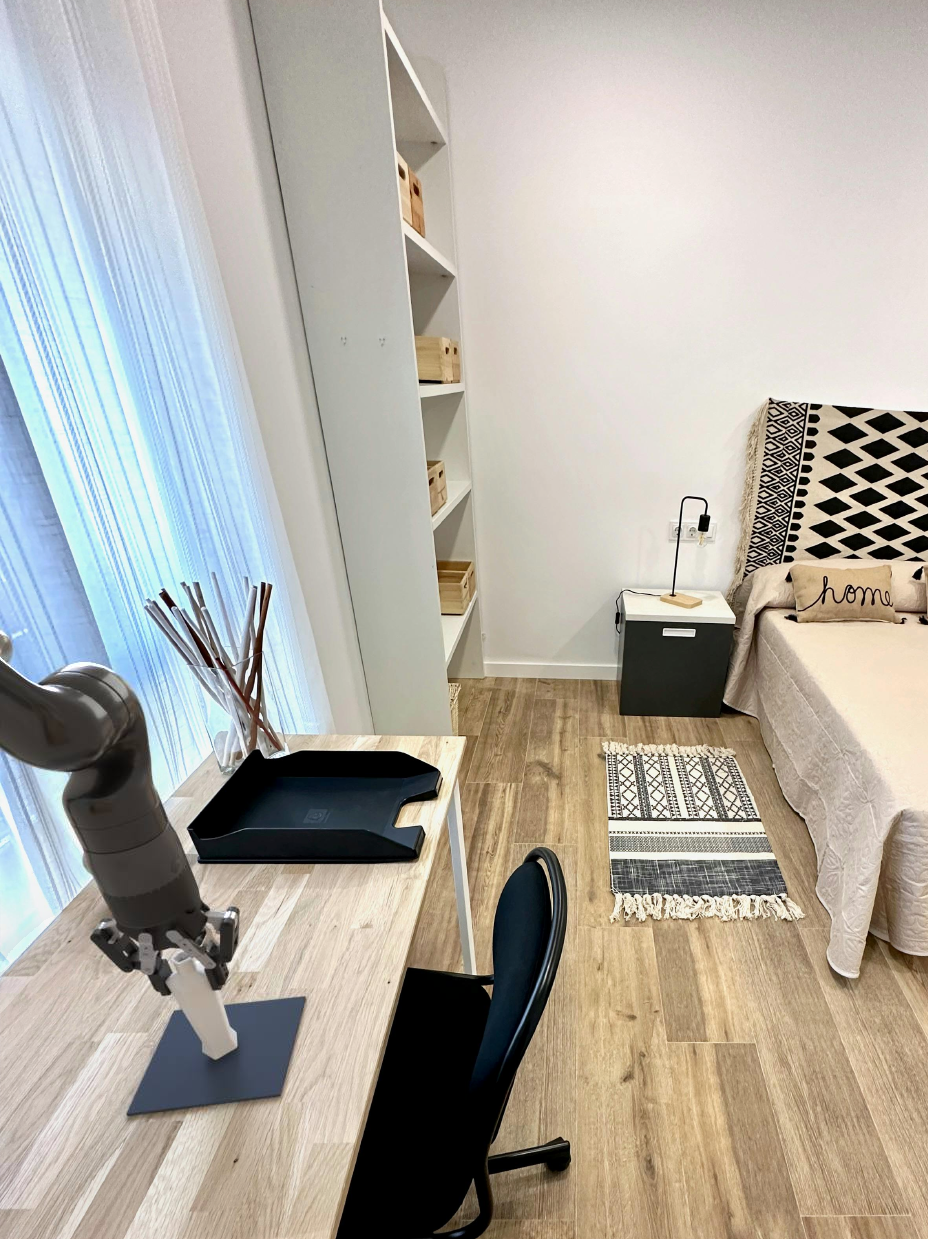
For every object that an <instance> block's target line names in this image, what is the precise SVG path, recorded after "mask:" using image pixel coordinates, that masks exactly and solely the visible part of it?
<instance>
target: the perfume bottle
mask: <svg viewBox="0 0 928 1239" xmlns="http://www.w3.org/2000/svg"><path fill="white" fill-rule="evenodd" d="M170 962H171V963H172V964H173V966H174V968H175V970H173V971H172V972H173V973H172V974H171V975H170V976H169V977H168V978H167V980H166V981H165V983H166V985H167V986H168V988H169V989H170V991H171V995H172V996H173V997H174V999H175V1001H176V1002H177V1004H178V1006H179V1007H180V1010H183V1012H184V1014H185V1015H186V1017H187V1018H188V1020H189V1022H190V1023H191V1025H192V1027H193V1028H194V1030H195V1031H196V1033H197V1035H198V1036H199V1038H200V1039H201V1041H202V1052H203V1053H205V1054H206V1055H208V1056H210V1057H211V1058H213V1059H215V1060H216V1059H218V1058H220V1057H222V1056H223V1055H225V1054H227V1053H229V1052H230V1051H232V1050H234V1049H235V1048H237V1033H236V1032H235V1031H234V1030H233V1029H232V1028H231V1027H230V1025H229V1022H228V1018H227V1015H226V1012H225V1008H224V1005H225V1004H224V1002H223V998H222V995H221V992H220V990H216V991H213V990H212V988H211V985H210V983H209V981H208V978H207V976H206V973H205V971H204V968H205V967H204V966H203V965H202V964H201V963H200V962H199V961H198V960H196V958H195V957H194V958H190V957H189V956H188V955H187V954H186V953H185V952H184V951H183V950H182V949H181V950H179V951H177V952H175V954H174V955H173V956H172V957H171V958H170Z"/></svg>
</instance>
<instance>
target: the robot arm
mask: <svg viewBox="0 0 928 1239" xmlns="http://www.w3.org/2000/svg"><path fill="white" fill-rule="evenodd" d="M13 654H14V645H13V642H12V640H11V639H10V637H9V636H8V635H7V634H6V633H5V632H4V631H3V630H2V629H0V750H1V751H2V752H4V753H6V754H7V755H8V756H10V757H12V758H13V759H15V760H17V761H19V762H21V763H23V764H25V765H27V766H30V767H32V768H35V769H39V770H43V771H48V772H54V773H70V776H69V778H68V779H67V782H66V784H65V786H64V788H63V790H62V794H61V803H62V808H63V811H64V814H65V815H66V818H67V820H68V822H69V824H70V826H71V828H72V830H73V832H74V834H75V837H76V839H77V840H78V842H79V844H80V846H81V848H82V851H83V853H84V854H85V859H86V862H87V865H88V867H89V870H90V872H91V874H92V875H91V874H90V875H91V876H92V877H93V880H94V882H95V884H96V886H97V888H98V890H99V892H100V894H101V896H102V898H103V900H104V902H105V904H106V906H107V908H108V911H109V913H110V914H111V916H112V918H113V919H112V918H111V917H102V918H101V920H100V921H99V922H98V924H97V925H96V926H95V927H94V929H93V931H92V933H91V934H90V936H89V939H90V941H91V942H92V943H93V944H94V945H95V946H96V947H97V948H98V949H99V951H101V952H102V953H103V954H104V955H105V956H106V957H107V958H108V959H109V960H110V961H111V963H113V964H114V965H115V966H116V968H118V969H119V970H120V971H121V972H123V973H126V974H129V973H133V972H134V970H135V971H140V972H141V973H142V975H145V976H147V978H148V980H149V982H150V984H151V986H152V987H153V990H154V991H155V992H157V993H160V995H161V997H168V996H171V995H172V993H171V991H170V989H169V988H168V986H167V985H166V983H165V981H166V980H167V978H168V977H169V976H170V975H171V974H172V973H173V972H174V971H173V970H172V968H171V965H170V964H169V961H168V959H167V958H163V954H164V953H163V951H166V950H169V949H178V950H180V949H181V951H182V950H183V951H184V952H185V953H186V954H187V955H188V956H189V957H190V958H194V959H195V960H196V961H199V962H200V963H201V964H202V965H203V966H204V967H205V968H204V971H205V973H206V976H207V978H208V981H209V983H210V985H211V988H212V990H213V991H216V990H219V991H222V989H223V986H225V985H226V983H227V980H228V978H229V975H230V970H229V967H228V965H227V964H228V963H231V962H232V960H233V958H234V955H235V953H236V951H237V948H238V946H239V940H240V939H239V937H240V914H241V911H240V908H239V907H237V906H234V905H233V906H228V908H227V909H226V911H221V910H211V908H210V906H209V905H208V904H206V903H205V902H204V901H203V900H202V898H201V894H200V889H199V886H198V883H197V879H196V877H195V875H194V873H193V870H192V867H191V865H190V863H189V860H188V857H187V855H186V852H185V849H184V846H183V845H182V842H181V840H180V837H179V835H178V833H177V831H176V829H175V828H174V827H173V825H172V823H171V821H170V820H169V817H168V814H167V812H166V810H165V806H164V805H163V804H164V803H163V801H162V799H161V797H160V795H159V792H158V790H157V788H156V785H155V784H154V779H153V770H152V755H151V748H150V747H151V746H150V740H149V733H148V732H149V731H148V725H147V720H146V716H145V712H144V709H143V706H142V703H141V701H140V699H139V698H138V696H137V694H136V692H135V690H134V689H133V687H132V686H131V685H130V684H129V683H128V681H127V680H126V679H124V677H122V675H120V674H119V673H118V672H115V671H114V670H112V669H110V668H108V667H106V666H104V665H101V664H98V663H93V662H88V661H87V662H85V661H84V662H83V661H82V662H74V663H70V664H67V665H64V666H62V667H60V668H58V669H56V670H54V671H53V672H52V673H50V674H49V675H48V676H46V677H45V678H43V679H41V681H38V682H37V683H35V682H33V681H31V680H29V679H28V678H26V677H25V676H23V674H21V673H20V672H19V671H17V670H16V669H14V668H13V667H12V666H11V665H10V663H11V661H12V658H13ZM207 924H211V926H213V929H214V930H215V934H216V935H219V942H218V941H217V940H216V939H215V938H214V936H213V931H212V930H211V929H210V927H209V926H208V925H207ZM136 942H138V944H136Z"/></svg>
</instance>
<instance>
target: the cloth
mask: <svg viewBox="0 0 928 1239" xmlns="http://www.w3.org/2000/svg"><path fill="white" fill-rule="evenodd" d="M306 999H307V998H306V996H305V995H303V996H301V995H300V996H294V997H285V998H276V999H266V1000H258V1001H257V1000H256V1001H248V1002H237V1003H228V1004H223V1005H224V1008H225V1012H226V1015H227V1018H228V1022H229V1025H230V1027H231V1028H232V1029H233V1030H234V1031H235V1032H236V1033H237V1048H235V1049H234V1050H232V1051H230V1052H229V1053H227V1054H225V1055H223V1056H222V1057H220V1058H218V1059H216V1060H215V1059H213V1058H211V1057H210V1056H208V1055H206V1054H205V1053H203V1052H202V1041H201V1039H200V1038H199V1036H198V1035H197V1033H196V1031H195V1030H194V1028H193V1027H192V1025H191V1023H190V1022H189V1020H188V1018H187V1017H186V1015H185V1014H184V1012H183V1010H182V1009H175V1010H173V1011H172V1014H171V1016H170V1018H169V1020H168V1021H167V1024H166V1026H165V1028H164V1031H163V1033H162V1035H161V1037H160V1040H159V1041H158V1044H157V1046H156V1049H155V1050H154V1053H153V1055H152V1057H151V1060H150V1061H149V1064H148V1065H147V1068H146V1070H145V1072H144V1074H143V1076H142V1078H141V1081H140V1083H139V1086H138V1087H137V1089H136V1092H135V1094H134V1095H133V1098H132V1101H131V1103H130V1105H129V1107H128V1109H127V1111H126V1113H125V1114H126V1117H131V1116H137V1115H138V1116H139V1115H146V1114H155V1113H162V1112H170V1111H176V1110H185V1109H193V1108H200V1107H208V1106H209V1107H210V1106H216V1105H225V1104H232V1103H237V1102H239V1103H240V1102H245V1101H252V1100H253V1101H254V1100H261V1099H269V1098H278V1097H281V1096H282V1092H283V1089H284V1084H285V1081H286V1077H287V1073H288V1069H289V1066H290V1061H291V1058H292V1054H293V1050H294V1045H295V1042H296V1038H297V1033H298V1029H299V1026H300V1023H301V1018H302V1015H303V1012H304V1007H305V1003H306Z"/></svg>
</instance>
